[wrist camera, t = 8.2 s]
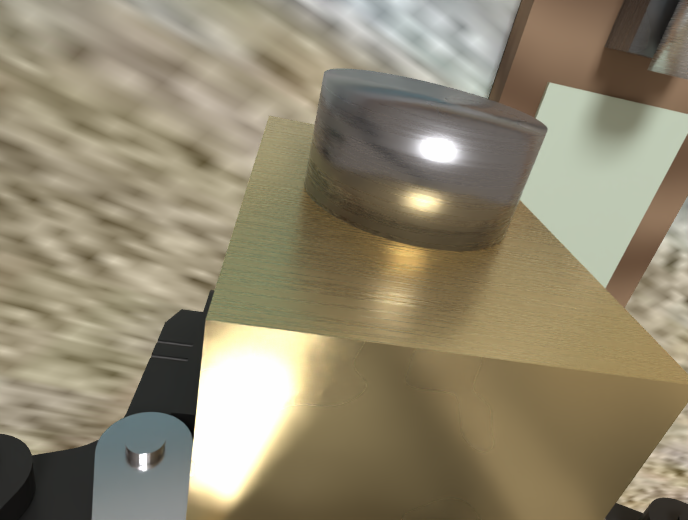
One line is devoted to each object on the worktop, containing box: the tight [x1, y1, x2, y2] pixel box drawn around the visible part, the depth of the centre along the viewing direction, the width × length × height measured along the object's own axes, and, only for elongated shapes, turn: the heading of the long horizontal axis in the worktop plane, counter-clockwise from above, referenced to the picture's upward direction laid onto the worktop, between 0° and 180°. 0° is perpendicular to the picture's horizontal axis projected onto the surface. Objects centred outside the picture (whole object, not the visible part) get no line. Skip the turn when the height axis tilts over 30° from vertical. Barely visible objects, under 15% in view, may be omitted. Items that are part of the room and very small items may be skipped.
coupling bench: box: [489, 0, 688, 308], centre depth 26 cm, size 29×12×6 cm, turn 168°
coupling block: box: [186, 69, 688, 520], centre depth 9 cm, size 12×4×7 cm, turn 168°
